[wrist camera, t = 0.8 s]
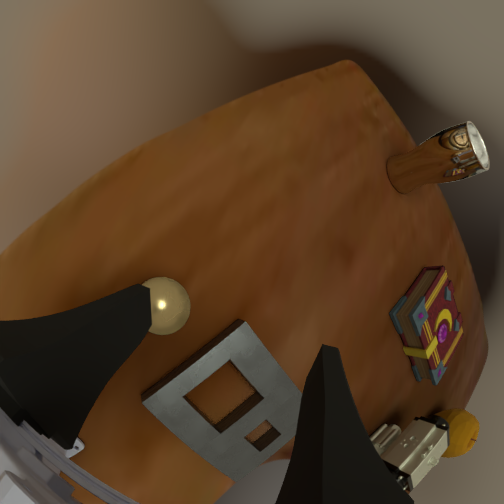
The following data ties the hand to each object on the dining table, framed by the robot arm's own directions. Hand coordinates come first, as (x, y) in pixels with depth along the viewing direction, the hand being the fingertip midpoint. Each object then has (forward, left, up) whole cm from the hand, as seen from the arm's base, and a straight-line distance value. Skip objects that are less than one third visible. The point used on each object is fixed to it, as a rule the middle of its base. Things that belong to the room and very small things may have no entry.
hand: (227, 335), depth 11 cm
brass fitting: (-1, +1, -15) cm, 15 cm away
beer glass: (+36, -5, -15) cm, 39 cm away
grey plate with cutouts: (-2, -12, -15) cm, 19 cm away
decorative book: (+25, -26, -16) cm, 40 cm away
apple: (+19, -48, -15) cm, 53 cm away
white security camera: (+9, -34, -15) cm, 38 cm away
